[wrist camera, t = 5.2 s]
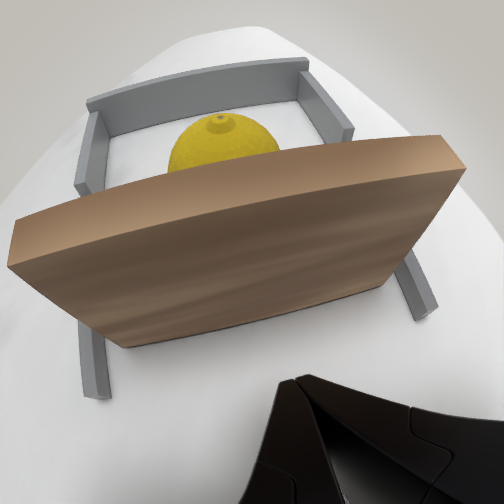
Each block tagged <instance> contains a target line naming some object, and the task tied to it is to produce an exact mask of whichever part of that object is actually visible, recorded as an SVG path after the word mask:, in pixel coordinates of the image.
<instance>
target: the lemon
mask: <svg viewBox="0 0 504 504" xmlns="http://www.w3.org/2000/svg"><path fill="white" fill-rule="evenodd" d="M274 151H280V149H279V146H278V144H277V142H276V141H275V139H274V138H273V137H272V135H271V134H270V133H269V132H268V131H267V129H266V128H264V127H263V126H262V125H260V124H259V123H257V122H256V121H254V120H252V119H250V118H247V117H245V116H242V115H238V114H231V113H221V114H215V115H211V116H207V117H205V118H203V119H200V120H198V121H197V122H195V123H194V124H192V125H191V126H190V127H188V128H187V129H186V130H185V131H184V132H183V133H182V134H181V136H180V137H179V138H178V140H177V142H176V143H175V145H174V147H173V149H172V151H171V155H170V160H169V165H168V173H170V172H174V171H179V170H183V169H187V168H192V167H196V166H201V165H205V164H210V163H215V162H220V161H225V160H230V159H235V158H240V157H245V156H251V155H256V154H262V153H268V152H274Z"/></svg>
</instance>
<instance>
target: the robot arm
mask: <svg viewBox="0 0 504 504" xmlns="http://www.w3.org/2000/svg"><path fill="white" fill-rule="evenodd" d="M340 488H341V490H342V492H343V493H344V495H345V496H346V498H347V499H348V501H349V503H350V504H504V421H499V420H486V419H476V418H467V417H459V416H453V415H446V414H441V413H437V412H432V411H428V410H423V409H420V408H416V407H411V408H410V406H407V405H403V404H399V403H396V402H392V401H389V400H386V399H382V398H379V397H376V396H373V395H369V394H366V393H363V392H360V391H357V390H354V389H351V388H348V387H345V386H342V385H339V384H336V383H333V382H330V381H327V380H324V379H321V378H319V377H316V376H313V375H310V374H307V375H303V376H300V377H297V378H295V380H294V379H289V380H286V381H282V382H280V383H279V384H278V388H277V391H276V395H275V399H274V402H273V406H272V409H271V413H270V416H269V419H268V423H267V426H266V430H265V433H264V436H263V440H262V443H261V446H260V449H259V452H258V456H257V459H256V462H255V464H254V467H253V470H252V473H251V476H250V478H249V481H248V484H247V486H246V489H245V491H244V493H243V495H242V497H241V499H240V501H239V503H238V504H345V501H344V498H343V495H342V492H341V490H340Z"/></svg>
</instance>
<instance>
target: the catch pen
mask: <svg viewBox="0 0 504 504" xmlns="http://www.w3.org/2000/svg"><path fill="white" fill-rule="evenodd" d="M308 70H309V60H308V59H307V58H306V57H297V58H280V59H268V60H258V61H249V62H241V63H233V64H226V65H220V66H213V67H207V68H202V69H196V70H191V71H186V72H181V73H177V74H172V75H168V76H164V77H159V78H155V79H151V80H148V81H144V82H140V83H136V84H133V85H129V86H126V87H123V88H119V89H116V90H113V91H110V92H107V93H104V94H101V95H98V96H95V97H92V98H89V99H87V102H86V106H87V108H88V111H89V113H90V114H89V118H88V122H87V126H86V130H85V134H84V138H83V142H82V146H81V151H80V155H79V160H78V165H77V170H76V175H75V181H74V187H75V188H76V190H77V191H78V193H79V195H80V196H81V197H84V196H87V195H90V194H93V193H97V192H100V191H103V190H104V183H105V173H106V163H107V155H108V147H109V140H110V138H111V137H114V136H117V135H120V134H124V133H127V132H131V131H134V130H138V129H141V128H145V127H149V126H153V125H157V124H161V123H165V122H169V121H173V120H177V119H182V118H186V117H191V116H196V115H201V114H206V113H211V112H216V111H221V110H227V109H233V108H239V107H246V106H252V105H259V104H267V103H275V102H283V101H293V100H297V101H298V102H299V104H300V105H301V107H302V108H303V110H304V111H305V113H306V114H307V116H308V117H309V119H310V120H311V122H312V123H313V125H314V126H315V128H316V129H317V131H318V132H319V134H320V136H321V137H322V139H323V140H324V142H325V144H330V143H339V142H348V141H352V137H353V133H354V129H355V127H354V126H353V125H352V123H351V122H350V121H349V119H348V118H347V117H346V116H345V114H344V113H343V112H342V110H341V109H340V108H339V107H338V105H337V104H336V103H335V102H334V100H333V99H332V98H331V97H330V96H329V94H328V93H327V92H326V91H325V90H324V88H323V87H322V86H321V85H320V84H319V82H318V81H317V80H316V79H315V78H314V77H313V76H312V74H311V73H310V72H309V71H308ZM394 273H395V275H396V277H397V279H398V282H399V284H400V286H401V288H402V291H403V293H404V295H405V298H406V300H407V302H408V305H409V307H410V310H411V312H412V315H413V317H414V320H415V321H416V320H419V319H421V318H423V317H426V316H427V315H429V314H430V313H431V312H433V311H434V310H435V309H437V308H438V307H439V306H438V304H437V302H436V299H435V297H434V295H433V293H432V290H431V288H430V286H429V284H428V281H427V279H426V277H425V275H424V273H423V271H422V269H421V266H420V264H419V262H418V260H417V258H416V256H415V254H414V252H413V250H412V249H411V250H410V251H409V253H408V254H407V255H406V257H405V258H404V259H403V261H402V262H401V263H400V264H399V266H398V267H397V268H396V269H395V271H394ZM78 337H79V353H80V365H81V376H82V385H83V393H84V397H88V398H93V399H108V398H111V393H110V386H109V379H108V371H107V362H106V353H105V342H104V336H102V335H101V334H99V333H97V332H96V331H94V330H93V329H91V328H90V327H88V326H87V325H85V324H83V323H82V322H80V321H79V320H78Z"/></svg>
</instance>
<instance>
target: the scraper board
mask: <svg viewBox="0 0 504 504" xmlns="http://www.w3.org/2000/svg"><path fill="white" fill-rule="evenodd" d="M465 170H466V167H465V165H464V164H463V163H462V161H461V160H460V159H459V158H458V156H457V155H456V154H455V153H454V151H453V150H452V149H451V147H450V146H449V145H448V144H447V143H446V141H445V140H444V139H443V138H442V136H441V135H428V136H408V137H393V138H380V139H368V140H358V141H348V142H339V143H330V144H322V145H315V146H307V147H300V148H293V149H287V150H280V151H274V152H268V153H262V154H256V155H251V156H245V157H240V158H235V159H230V160H225V161H220V162H215V163H210V164H205V165H201V166H196V167H192V168H187V169H183V170H179V171H174V172H170V173H166V174H162V175H158V176H154V177H150V178H146V179H143V180H139V181H135V182H131V183H128V184H124V185H121V186H117V187H114V188H110V189H107V190H103V191H100V192H97V193H93V194H90V195H87V196H84V197H81V198H78V199H74V200H71V201H68V202H65V203H62V204H59V205H57V206H54V207H51V208H48V209H45V210H42V211H39V212H37V213H34V214H31V215H29V216H26V217H23V218H21V219H18V220H16V221H15V225H14V230H13V235H12V240H11V245H10V250H9V256H8V262H7V267H8V268H9V269H10V270H11V271H13V272H14V273H15V274H16V275H18V276H19V277H20V278H21V279H23V280H24V281H25V282H26V283H28V284H29V285H30V286H32V287H33V288H34V289H35V290H37V291H38V292H39V293H41V294H42V295H43V296H45V297H46V298H47V299H49V300H50V301H52V302H53V303H54V304H56V305H57V306H59V307H60V308H61V309H63V310H64V311H66V312H67V313H69V314H70V315H72V316H73V317H74V318H76V319H77V320H79V321H80V322H82V323H83V324H85V325H87V326H88V327H90V328H91V329H93V330H94V331H96V332H97V333H99V334H101V335H102V336H104V337H105V338H107V339H109V340H110V341H112V342H114V343H115V344H117V345H119V346H120V347H122V348H126V347H132V346H138V345H143V344H149V343H154V342H159V341H165V340H170V339H175V338H180V337H185V336H190V335H194V334H199V333H204V332H208V331H213V330H217V329H222V328H226V327H231V326H235V325H239V324H243V323H248V322H252V321H256V320H260V319H264V318H268V317H272V316H276V315H280V314H284V313H288V312H291V311H295V310H299V309H303V308H306V307H310V306H314V305H317V304H321V303H324V302H328V301H331V300H335V299H338V298H342V297H345V296H348V295H352V294H355V293H358V292H362V291H365V290H368V289H371V288H375V287H378V286H381V285H383V284H384V283H385V282H386V281H387V279H388V278H389V277H390V276H391V274H392V273H393V272H394V271H395V269H396V268H397V267H398V266H399V264H400V263H401V262H402V261H403V259H404V258H405V257H406V255H407V254H408V253H409V251H410V250H411V249H412V247H413V246H414V245H415V243H416V242H417V241H418V239H419V238H420V237H421V235H422V234H423V233H424V231H425V230H426V228H427V227H428V226H429V224H430V223H431V221H432V220H433V219H434V217H435V216H436V214H437V213H438V211H439V210H440V209H441V207H442V206H443V204H444V203H445V201H446V200H447V198H448V197H449V195H450V194H451V192H452V191H453V189H454V187H455V186H456V184H457V183H458V181H459V180H460V178H461V176H462V175H463V173H464V172H465Z"/></svg>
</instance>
